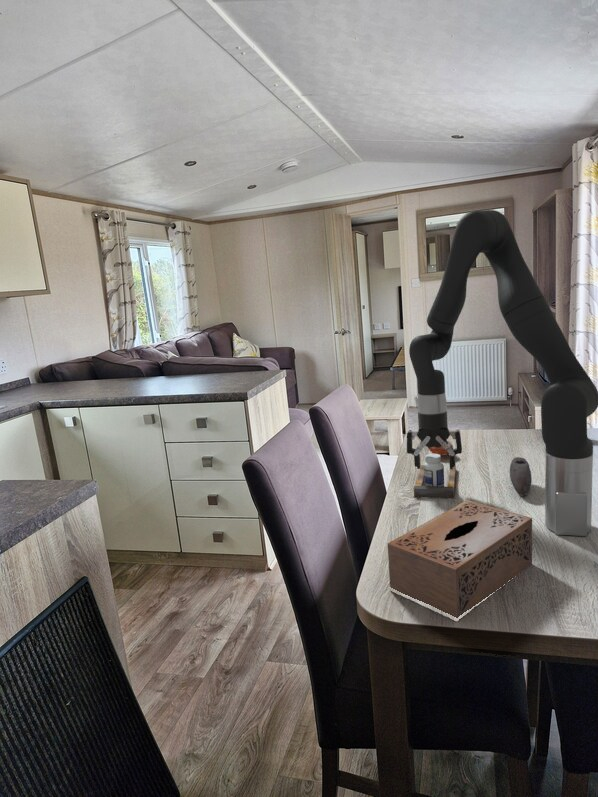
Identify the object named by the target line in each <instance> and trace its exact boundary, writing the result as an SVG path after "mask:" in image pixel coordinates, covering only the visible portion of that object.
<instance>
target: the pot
mask: <svg viewBox="0 0 598 797" xmlns="http://www.w3.org/2000/svg"><path fill="white" fill-rule="evenodd" d="M447 441H448V442H449V443H450V445H451V446H452V447H453V448H454V446H453V444H452V443H451V441H449V440H447ZM427 449H428V450H429V451H430V452H431V454H439V455H441V456H445V455H446V456H449V455H450V454H449V453H448V452H447V450H445V449H444V448H443V446H441V447H440V448H437V447H431V448H428V447H427Z"/></svg>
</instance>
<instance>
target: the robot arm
mask: <svg viewBox="0 0 598 797" xmlns="http://www.w3.org/2000/svg"><path fill="white" fill-rule="evenodd" d="M481 253H482V254H483V255H484V256H485V257H486V259H487V261H488V263H489V264H490V266H491V268H492V270H493V272H494V275H495V278H496V283H497V284H496V285H497V300H498V307H499V310H500V313H501V315H502V317H503V319H504V321H505V323H506V325H507V327H508V329H509V331H510V333H511V335H512V336H513V337H514V339H515V340H516V341H517V342H518V344H520V345H521V347H522V348H524V349H525V351H526V352H528V353H529V354H530V355H531V356H532V358H534V359H535V360H536V361H537V362H538V363H539V366H540V367H541V368H542V370H543V372H544V374H545V376H546V377H547V379H548V382H549V384H550V385H549V386H548V387H547V388H546V389H545V391H544V392H543V394H542V397H541V404H540V416H541V417H540V418H541V419H540V421H541V438H542V440H543V441H542V442H543V443H544V445H545V446H544V447H545V468H544V470H545V475H544V476H545V477H544V478H545V479H544V480H545V481H544V483H545V484H544V486H545V487H544V488H545V495H544V496H545V497H544V498H545V499H544V502H545V503H544V510H545V511H544V523H545V527H546V529H548V530H549V531H552V532H553V533H554V534H555V535H557V536H558V535H559V536H561V535H562V536H577V537H578V536H579V537H581V536H582V537H587V536H588V533H590V532H591V531H592V516H593V512H592V510H593V509H592V508H593V507H592V504H593V502H592V501H593V466H594V443H593V441H592V439H590V438H589V437H588V417H590V416H591V415H593V414H594V413H595V412H596V411H597V409H598V388H597V386H595V383H594V382H593V381H592V379H591V377H590V376H589V374H588V373H587V372H586V370H585V369H584V367H583V366H582V364H581V363H580V361H579V360H578V358H577V357H576V355H575V354H574V352H573V351H572V348H571V347H570V345H569V343H568V341H567V339H566V336H565V335H564V333H563V331H562V329H561V327H560V324H558V321H557V319H556V317H555V315H554V313H553V311H552V309H551V307H550V305H549V303H548V302H547V299H546V298H545V296H544V294H543V292H542V291H541V289H540V287H539V286H538V283H537V282H536V280H535V278H534V275H533V274H532V272H531V270H530V267H528V265H527V262H526V260H525V258H524V257H523V255H522V253H521V250H520V247H519V244H518V242H517V240H516V237H515V234H514V232H513V230H512V227H511V224H510V223H509V220H508V219H507V217H506V216H505V215H504V214H503V213H501V212H500V211H498V210H494V209H483V210H482V209H481V210H479V209H478V210H471V211H468V212H466V213H465V214H463V215H462V216H461V218H460V219H459V220H458V222H457V225H456V227H455V229H454V233H453V237H452V241H451V245H450V250H449V253H448V256H447V261H446V264H445V269H444V273H443V276H442V280H441V283H440V285H439V288H438V292H437V294H436V296H435V298H434V301H433V302H432V305H431V307H430V310H429V313H428V316H427V318H426V324H427V326H428V327H429V328H430V329H431V331H430V333H427V334H421V335H417V336H415V337H414V338H413V339H412V340H411V342H410V344H409V347H408V348H409V350H408V352H409V358H410V359H409V360H410V361H411V365H412V368H413V371H414V375H415V378H416V380H417V382H416V383H417V384H416V386H417V400H416V402H417V403H416V404H417V405H416V406H417V420H418V422H417V424H418V430H417V431H413V430H411V429H409V430H408V431H407V433H406V453H407V454H411V455H413V462H414V467H415V468H416V470H420V467H421V454H420V453H421V452H422V451H423V449H424V448H425V447H426V448H427V449H428V448H431V447H437V448H440V447H441V446H443V448H444V449H445V450H447V452H448V453H449V455H448V457H449V459H448V460H449V470H450V469H453V467H455V465H456V455H459V454H462V453H463V446H462V437H461V436H462V435H461V430H460V429H455V430H449V426H448V423H449V422H448V404H447V403H448V402H447V397H446V381H445V373H444V372H443V371H442V370H440V369H435V366H434V364H433V361H439V360H441V359H443V358H445V357H446V355H447V354H448V353H449V351H450V349H451V346H452V341H453V336H454V330H455V329H454V328H455V325H456V324H457V322H458V319H459V317H460V315H461V313H462V311H463V308H464V306H465V302H466V298H467V287H468V286H467V284H468V277H469V275H470V274H469V273H470V271H471V269H472V267H473V265H474V263H475V261H476V259H477V257H478V256H479V255H480V254H481ZM450 436H451V437H452V439H453V440H455V445H456V448H454V446H453V447H452V446H451V445H450V443H451V442H450V441H449V440H448V439H449V438H450ZM416 437H417V438H418V439H419V440H420V442H419V444H418V445H417V446H416V448H414V447H413V440H415V439H416ZM448 441H449V442H450V443H449V442H448Z"/></svg>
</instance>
